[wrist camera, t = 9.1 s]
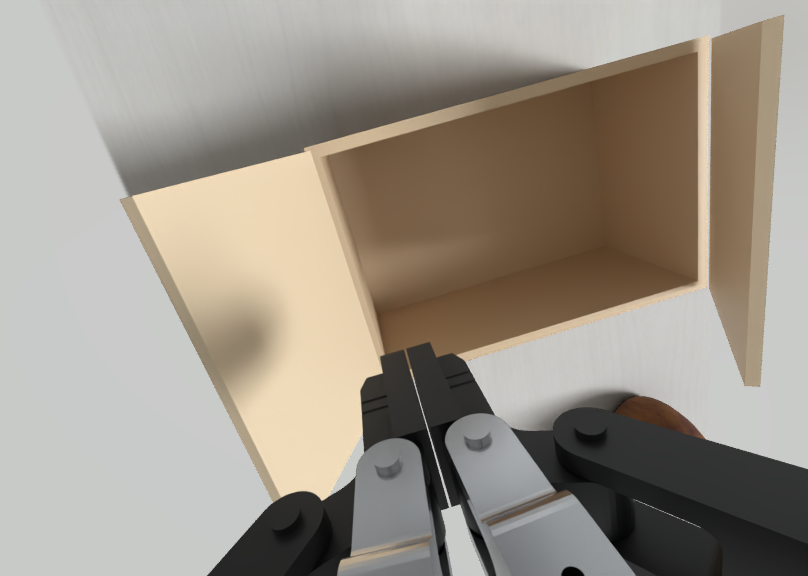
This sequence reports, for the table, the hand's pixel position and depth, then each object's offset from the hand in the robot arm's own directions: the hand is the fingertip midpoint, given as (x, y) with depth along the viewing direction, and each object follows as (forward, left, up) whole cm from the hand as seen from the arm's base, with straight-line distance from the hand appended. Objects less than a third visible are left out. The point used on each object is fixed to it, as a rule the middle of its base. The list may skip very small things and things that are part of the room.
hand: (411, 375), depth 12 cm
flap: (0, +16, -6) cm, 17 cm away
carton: (0, +9, -21) cm, 23 cm away
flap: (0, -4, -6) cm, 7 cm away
